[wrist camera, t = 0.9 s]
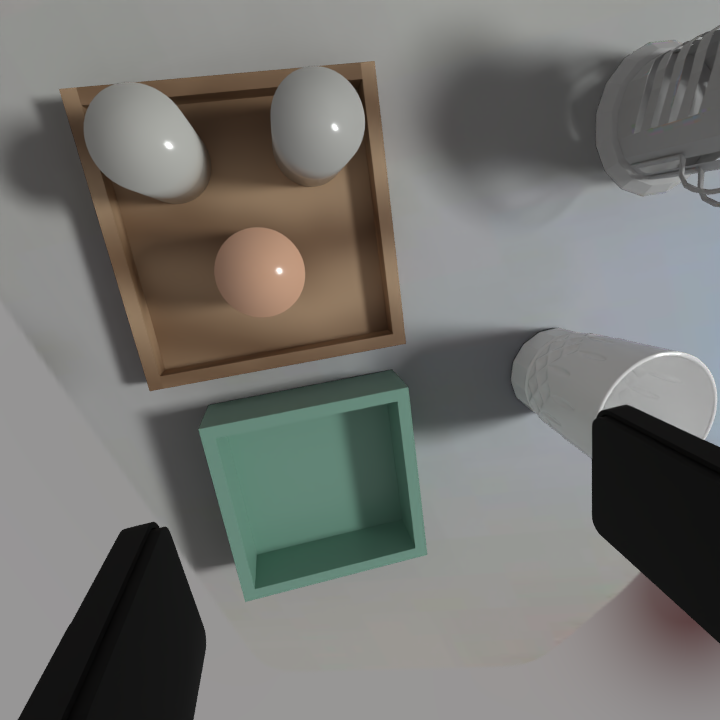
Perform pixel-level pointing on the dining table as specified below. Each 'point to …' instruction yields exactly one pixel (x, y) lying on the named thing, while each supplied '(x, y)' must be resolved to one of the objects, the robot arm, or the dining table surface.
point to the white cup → (610, 383)
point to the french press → (663, 117)
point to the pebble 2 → (315, 125)
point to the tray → (241, 211)
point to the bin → (316, 481)
